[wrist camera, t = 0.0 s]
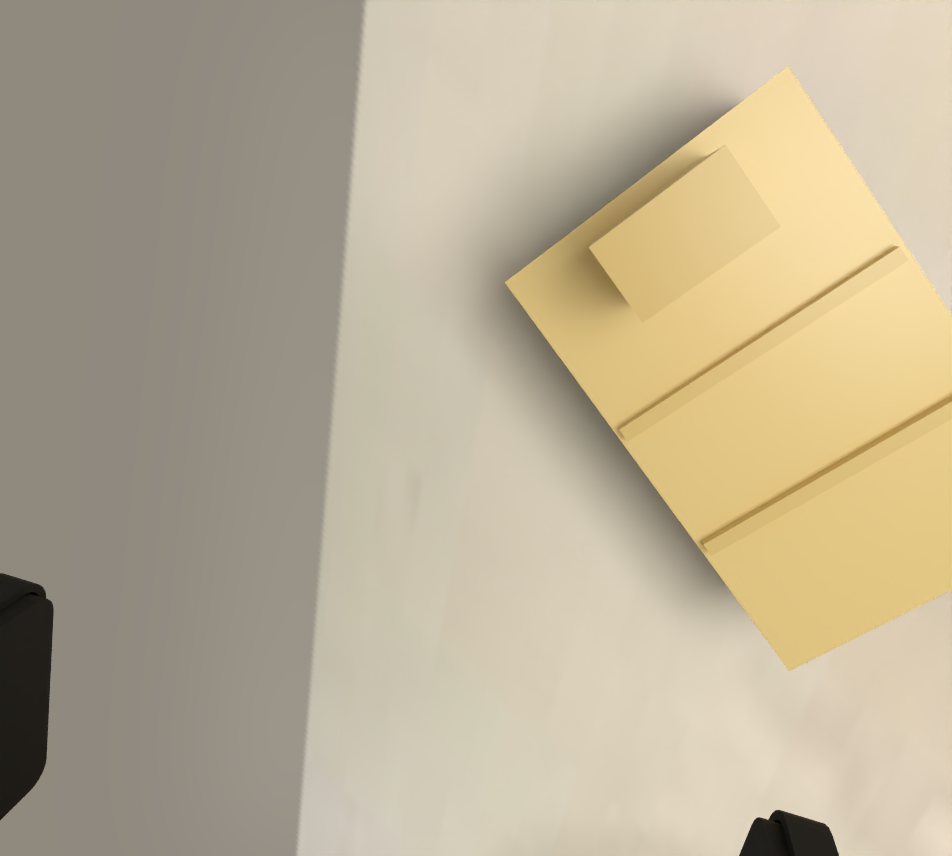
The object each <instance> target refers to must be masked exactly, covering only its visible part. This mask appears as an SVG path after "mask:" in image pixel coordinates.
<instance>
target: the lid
mask: <svg viewBox="0 0 952 856" xmlns="http://www.w3.org/2000/svg"><path fill="white" fill-rule="evenodd" d="M505 283H506V285H507V286H508V288H509V289H510V290H511V292H512V293H513V294H514V296H515V297H516V299H517V300H518V301H519V303H520V304H521V305H522V307H523V308H524V309H525V311H526V312H527V314H528V315H529V316H530V318H531V319H532V320H533V322H534V323H535V324H536V326H537V327H538V329H539V330H540V331H541V333H542V334H543V335H544V337H545V338H546V339H547V341H548V342H549V344H550V345H551V346H552V348H553V349H554V350H555V352H556V353H557V355H558V356H559V357H560V359H561V360H562V361H563V363H564V364H565V365H566V367H567V368H568V370H569V371H570V372H571V374H572V375H573V376H574V378H575V379H576V380H577V382H578V383H579V385H580V386H581V387H582V389H583V390H584V391H585V393H586V394H587V395H588V397H589V398H590V400H591V401H592V402H593V404H594V405H595V406H596V408H597V409H598V411H599V412H600V413H601V415H602V416H603V417H604V419H605V420H606V421H607V423H608V424H609V426H610V427H611V428H612V430H613V431H614V432H615V434H616V435H617V436H618V438H619V439H620V441H621V442H622V443H623V445H624V446H625V447H626V449H627V450H628V451H629V453H630V454H631V456H632V457H633V458H634V460H635V461H636V462H637V464H638V465H639V467H640V468H641V469H642V471H643V472H644V473H645V475H646V476H647V477H648V479H649V480H650V482H651V483H652V484H653V486H654V487H655V488H656V490H657V491H658V492H659V494H660V495H661V497H662V498H663V499H664V501H665V502H666V503H667V505H668V506H669V508H670V509H671V510H672V512H673V513H674V514H675V516H676V517H677V518H678V520H679V521H680V523H681V524H682V525H683V527H684V528H685V529H686V531H687V532H688V533H689V535H690V536H691V538H692V539H693V540H694V542H695V543H696V544H697V546H698V547H699V548H700V550H701V551H702V553H703V554H704V555H705V557H706V558H707V559H708V561H709V562H710V564H711V565H712V566H713V568H714V569H715V570H716V572H717V573H718V574H719V576H720V577H721V579H722V580H723V581H724V583H725V584H726V585H727V587H728V588H729V589H730V591H731V592H732V594H733V595H734V596H735V598H736V599H737V600H738V602H739V603H740V604H741V606H742V607H743V609H744V610H745V611H746V613H747V614H748V615H749V617H750V618H751V620H752V621H753V622H754V624H755V625H756V626H757V628H758V629H759V630H760V632H761V633H762V635H763V636H764V637H765V639H766V640H767V641H768V643H769V644H770V645H771V647H772V648H773V650H774V651H775V652H776V654H777V655H778V656H779V658H780V659H781V661H782V662H783V663H784V665H785V666H786V667H787V669H788V670H789V671H790V670H792V669H794V668H796V667H798V666H800V665H802V664H804V663H806V662H808V661H810V660H812V659H814V658H816V657H818V656H820V655H822V654H824V653H826V652H828V651H830V650H832V649H834V648H836V647H838V646H840V645H842V644H844V643H846V642H848V641H850V640H852V639H854V638H856V637H858V636H860V635H862V634H864V633H866V632H868V631H870V630H872V629H874V628H876V627H878V626H880V625H882V624H884V623H886V622H889V621H891V620H893V619H895V618H897V617H899V616H901V615H903V614H905V613H907V612H909V611H911V610H913V609H915V608H917V607H919V606H921V605H923V604H925V603H927V602H929V601H931V600H933V599H935V598H937V597H939V596H941V595H943V594H945V593H947V592H949V591H951V590H952V315H951V313H950V312H949V310H948V309H947V307H946V306H945V304H944V303H943V301H942V300H941V298H940V297H939V295H938V294H937V292H936V291H935V289H934V287H933V286H932V284H931V283H930V281H929V280H928V278H927V277H926V275H925V274H924V272H923V271H922V269H921V268H920V266H919V265H918V263H917V262H916V260H915V258H914V257H913V255H912V254H911V252H910V251H909V249H908V248H907V246H906V245H905V243H904V242H903V240H902V239H901V237H900V236H899V234H898V233H897V231H896V230H895V228H894V226H893V225H892V223H891V222H890V220H889V219H888V217H887V216H886V214H885V213H884V211H883V210H882V208H881V207H880V205H879V204H878V202H877V201H876V199H875V197H874V196H873V194H872V193H871V191H870V190H869V188H868V187H867V185H866V184H865V182H864V181H863V179H862V178H861V176H860V175H859V173H858V172H857V170H856V168H855V167H854V165H853V164H852V162H851V161H850V159H849V158H848V156H847V155H846V153H845V152H844V150H843V149H842V147H841V146H840V144H839V143H838V141H837V139H836V138H835V136H834V135H833V133H832V132H831V130H830V129H829V127H828V126H827V124H826V123H825V121H824V120H823V118H822V117H821V115H820V114H819V112H818V111H817V109H816V107H815V106H814V104H813V103H812V101H811V100H810V98H809V97H808V95H807V94H806V92H805V91H804V89H803V88H802V86H801V85H800V83H799V82H798V80H797V78H796V77H795V75H794V74H793V72H792V71H791V69H790V68H789V66H788V67H786V68H785V69H784V70H782V71H781V72H780V73H778V74H777V75H776V76H775V77H773V78H772V79H771V80H769V81H768V82H767V83H765V84H764V85H763V86H761V87H760V88H759V89H757V90H756V91H755V92H754V93H752V94H751V95H750V96H748V97H747V98H746V99H744V100H743V101H742V102H740V103H739V104H738V105H737V106H735V107H734V108H733V109H731V110H730V111H729V112H727V113H726V114H725V115H723V116H722V117H721V118H719V119H718V120H717V121H716V122H714V123H713V124H712V125H710V126H709V127H708V128H706V129H705V130H704V131H702V132H701V133H700V134H699V135H697V136H696V137H695V138H693V139H692V140H691V141H689V142H688V143H687V144H685V145H684V146H683V147H681V148H680V149H679V150H678V151H676V152H675V153H674V154H672V155H671V156H670V157H668V158H667V159H666V160H664V161H663V162H662V163H661V164H659V165H658V166H657V167H655V168H654V169H653V170H651V171H650V172H649V173H647V174H646V175H645V176H643V177H642V178H641V179H640V180H638V181H637V182H636V183H634V184H633V185H632V186H630V187H629V188H628V189H626V190H625V191H624V192H623V193H621V194H620V195H619V196H617V197H616V198H615V199H613V200H612V201H611V202H609V203H608V204H607V205H605V206H604V207H603V208H602V209H600V210H599V211H598V212H596V213H595V214H594V215H592V216H591V217H590V218H588V219H587V220H586V221H584V222H583V223H582V224H581V225H579V226H578V227H577V228H575V229H574V230H573V231H571V232H570V233H569V234H567V235H566V236H565V237H564V238H562V239H561V240H560V241H558V242H557V243H556V244H554V245H553V246H552V247H550V248H549V249H548V250H546V251H545V252H544V253H543V254H541V255H540V256H539V257H537V258H536V259H535V260H533V261H532V262H531V263H529V264H528V265H527V266H526V267H524V268H523V269H522V270H520V271H519V272H518V273H516V274H515V275H514V276H512V277H511V278H510V279H508V280H507V281H506V282H505Z"/></svg>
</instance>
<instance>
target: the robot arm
mask: <svg viewBox="0 0 952 856" xmlns="http://www.w3.org/2000/svg"><path fill="white" fill-rule="evenodd" d="M52 630H53V604H52V602H51V601H50V600H48V599H46V593H45V590H44V589H43V587H42V586H40V585H38V584H35V583H32V582H29V581H26V580H22V579H19V578H16V577H13V576H9V575H6V574H1V573H0V820H1V819H2V818H3V817H4V816H5V815H6V814H7V813H8V812H9V811H10V810H11V809H12V808H13V807H14V806H15V805H16V804H17V803H18V802H19V801H20V800H21V799H22V798H23V797H24V796H25V795H26V794H27V793H28V792H29V791H30V790H31V789H32V788H33V787H34V786H35V784H36V783H37V781H38V780H39V778H40V776H41V774H42V772H43V770H44V767H45V764H46V755H47V736H48V714H49V694H50V673H51V653H52ZM739 856H839V854H838V851H837V848H836V845H835V842H834V839H833V836H832V833H831V831H830V829H829V827H828V826H826V825H825V824H824V823H820V822H817V821H814V820H810V819H807V818H804V817H801V816H797V815H794V814H791V813H787V812H784V811H781V810H775V811H774V812H773V813H772V814H771V816H770V818H769V820H767V819H763V818H756V819H755V820H754V822H753V824H752V826H751V828H750V831H749V833H748V835H747V838H746V840H745V843H744V845H743V848H742V850H741V853H740V855H739Z"/></svg>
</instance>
